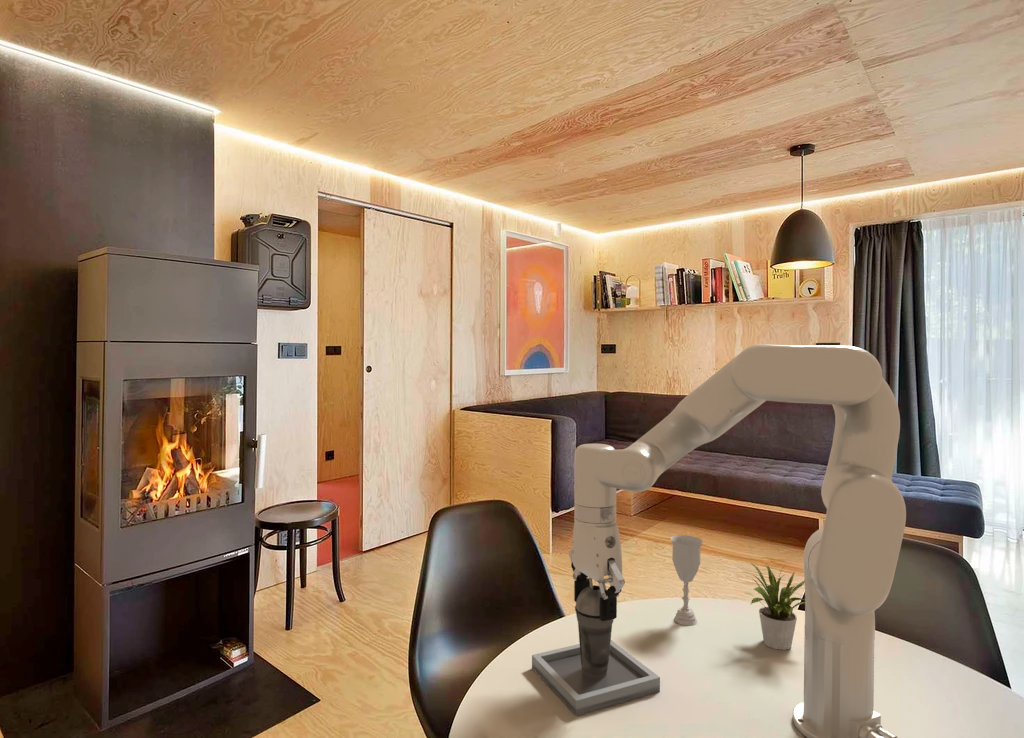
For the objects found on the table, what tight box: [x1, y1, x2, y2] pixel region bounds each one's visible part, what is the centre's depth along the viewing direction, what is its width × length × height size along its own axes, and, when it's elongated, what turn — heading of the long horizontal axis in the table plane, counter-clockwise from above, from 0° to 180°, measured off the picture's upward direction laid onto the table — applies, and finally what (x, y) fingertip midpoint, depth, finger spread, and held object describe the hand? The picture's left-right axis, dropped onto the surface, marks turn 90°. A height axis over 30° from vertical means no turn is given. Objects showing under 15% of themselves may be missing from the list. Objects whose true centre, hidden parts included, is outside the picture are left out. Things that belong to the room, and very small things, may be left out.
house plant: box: [741, 560, 805, 651], centre depth 119 cm, size 14×14×16 cm
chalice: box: [670, 534, 704, 626], centre depth 129 cm, size 7×7×18 cm
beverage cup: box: [574, 577, 615, 679], centre depth 104 cm, size 7×7×20 cm
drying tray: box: [531, 639, 661, 717], centre depth 105 cm, size 16×17×2 cm
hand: (594, 609), depth 104 cm, fingers open, 7 cm apart
